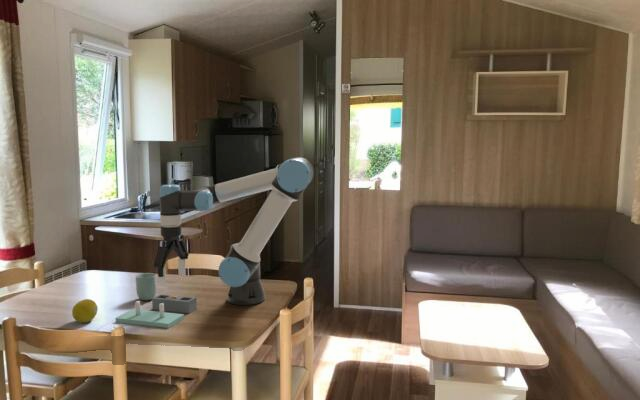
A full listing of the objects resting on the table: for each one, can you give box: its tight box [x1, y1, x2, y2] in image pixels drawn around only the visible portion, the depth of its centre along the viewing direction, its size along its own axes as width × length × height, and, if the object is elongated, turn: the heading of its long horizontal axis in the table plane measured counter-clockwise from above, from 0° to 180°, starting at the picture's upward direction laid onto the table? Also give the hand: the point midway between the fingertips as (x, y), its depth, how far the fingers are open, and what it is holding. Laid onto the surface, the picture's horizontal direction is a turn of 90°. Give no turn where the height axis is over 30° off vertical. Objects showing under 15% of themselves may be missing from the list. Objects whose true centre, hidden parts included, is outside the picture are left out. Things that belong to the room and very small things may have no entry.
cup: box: [135, 272, 158, 301], centre depth 212 cm, size 8×8×10 cm
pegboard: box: [115, 300, 185, 329], centre depth 188 cm, size 22×10×6 cm, turn 73°
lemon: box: [71, 298, 98, 324], centre depth 188 cm, size 11×8×8 cm
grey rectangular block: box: [151, 293, 198, 314], centre depth 200 cm, size 16×6×5 cm, turn 73°
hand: (172, 280), depth 199 cm, fingers open, 13 cm apart
